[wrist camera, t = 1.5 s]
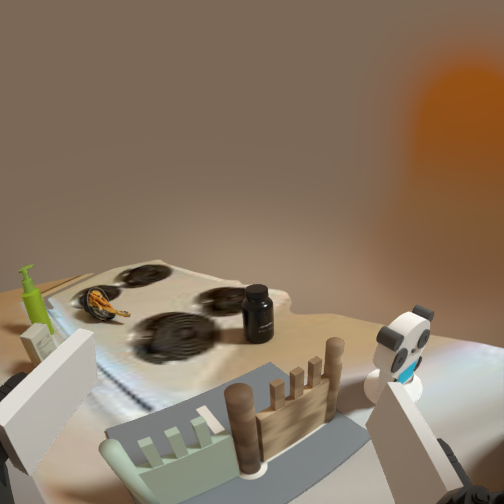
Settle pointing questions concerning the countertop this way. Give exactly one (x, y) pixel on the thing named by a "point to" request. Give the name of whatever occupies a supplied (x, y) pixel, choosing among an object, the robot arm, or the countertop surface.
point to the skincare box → (38, 343)
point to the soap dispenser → (34, 301)
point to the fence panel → (175, 465)
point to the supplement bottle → (257, 314)
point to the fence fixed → (284, 409)
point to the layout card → (215, 413)
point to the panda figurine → (400, 354)
